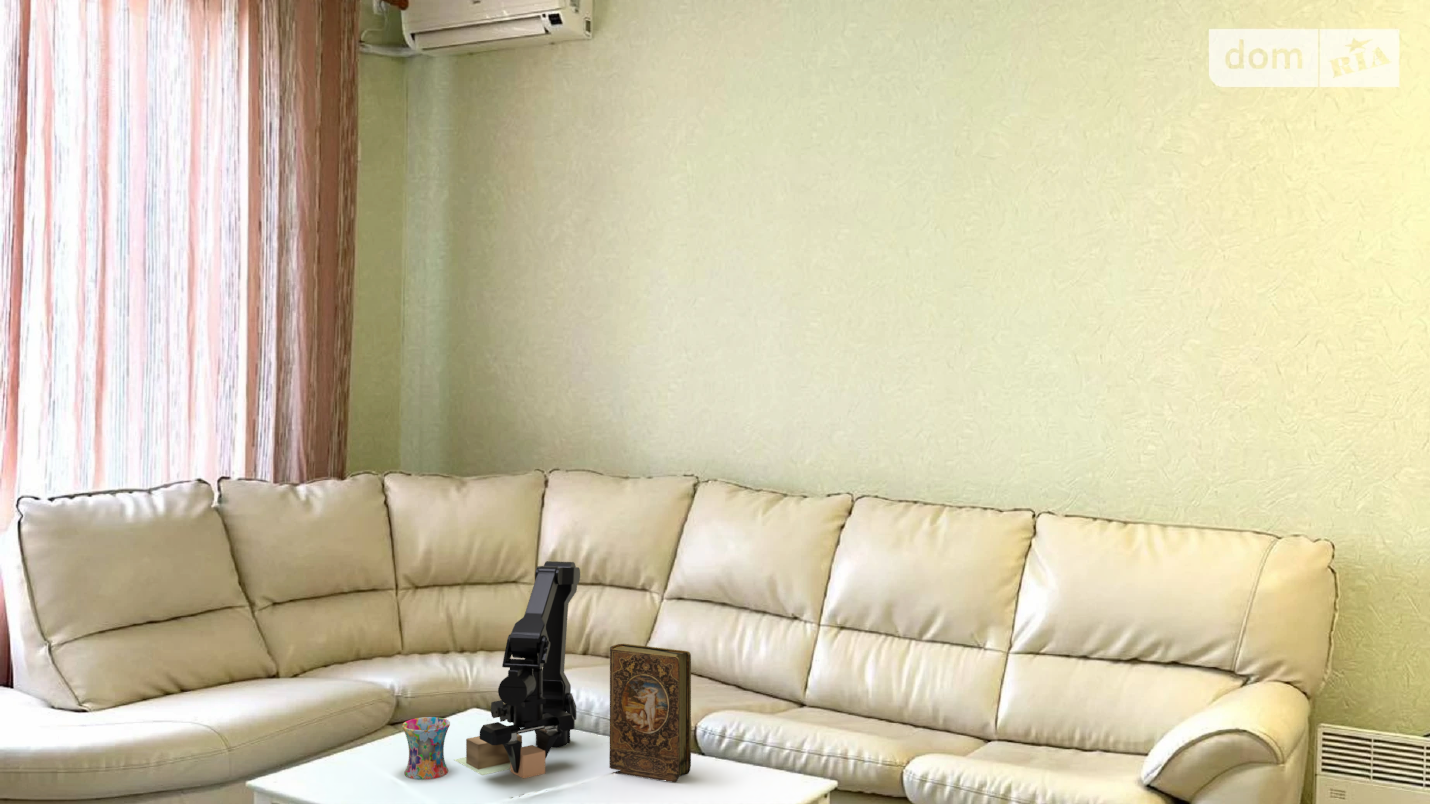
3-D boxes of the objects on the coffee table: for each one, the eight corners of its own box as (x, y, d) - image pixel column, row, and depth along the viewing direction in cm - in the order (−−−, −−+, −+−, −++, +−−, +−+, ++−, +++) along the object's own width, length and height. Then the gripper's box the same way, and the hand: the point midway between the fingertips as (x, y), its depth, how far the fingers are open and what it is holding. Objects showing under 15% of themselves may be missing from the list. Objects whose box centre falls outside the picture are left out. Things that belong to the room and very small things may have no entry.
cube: (532, 769, 266) (532, 744, 265) (545, 775, 262) (545, 751, 261) (510, 774, 262) (510, 749, 262) (523, 781, 259) (523, 755, 258)
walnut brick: (509, 753, 274) (509, 729, 273) (521, 759, 270) (521, 735, 270) (466, 763, 268) (466, 738, 267) (478, 769, 264) (478, 744, 263)
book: (605, 771, 265) (605, 648, 264) (618, 763, 270) (619, 643, 269) (678, 783, 258) (679, 657, 257) (690, 775, 263) (691, 651, 262)
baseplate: (505, 752, 277) (505, 748, 277) (534, 767, 268) (534, 763, 268) (453, 763, 270) (453, 759, 270) (482, 779, 260) (482, 775, 260)
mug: (437, 786, 256) (437, 732, 256) (393, 781, 258) (393, 728, 258) (464, 767, 268) (463, 715, 267) (422, 762, 270) (422, 711, 269)
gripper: (547, 676, 273) (547, 750, 274) (466, 691, 262) (466, 768, 263) (576, 688, 265) (576, 764, 265) (493, 703, 253) (493, 783, 254)
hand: (527, 769), depth 262 cm, fingers closed on cube, 5 cm apart
